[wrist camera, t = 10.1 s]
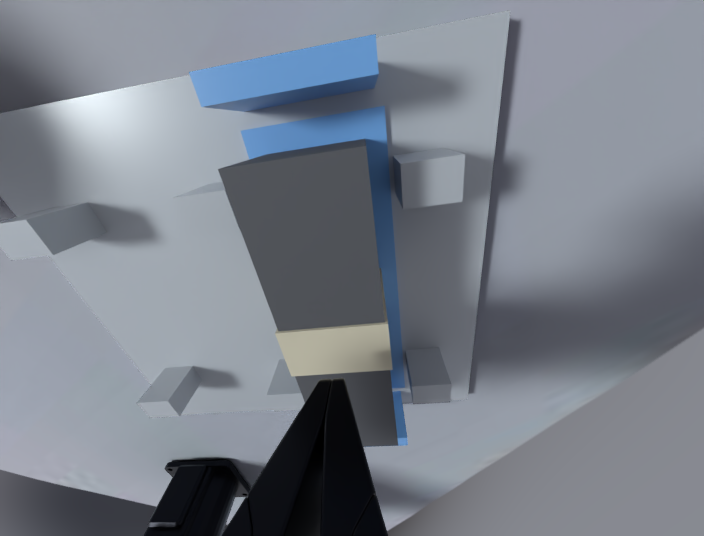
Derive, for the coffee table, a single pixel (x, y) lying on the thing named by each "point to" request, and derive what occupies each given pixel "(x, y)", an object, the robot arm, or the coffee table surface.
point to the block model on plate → (221, 224)
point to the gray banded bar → (321, 271)
